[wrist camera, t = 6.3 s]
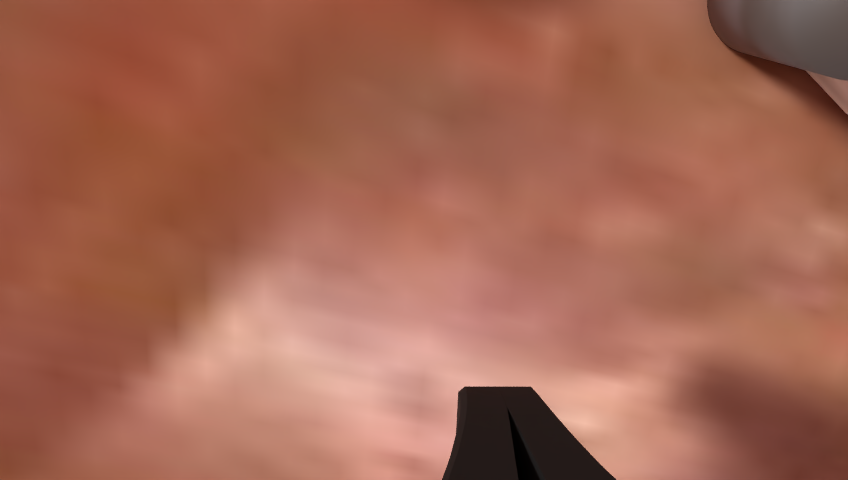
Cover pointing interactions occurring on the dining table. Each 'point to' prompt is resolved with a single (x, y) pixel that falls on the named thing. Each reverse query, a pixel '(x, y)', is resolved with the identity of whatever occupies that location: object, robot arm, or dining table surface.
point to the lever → (790, 36)
